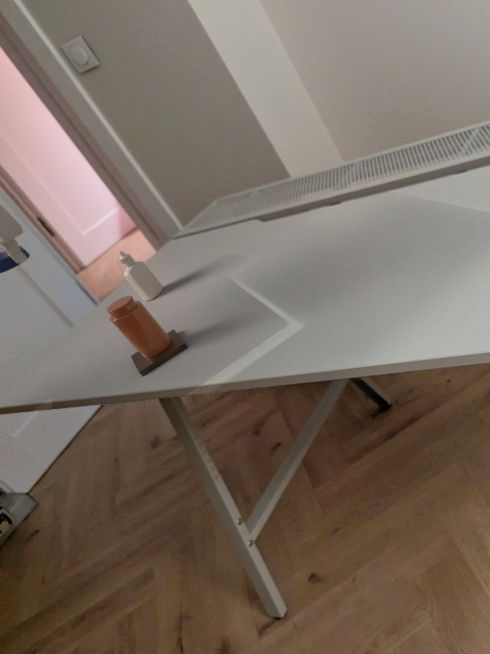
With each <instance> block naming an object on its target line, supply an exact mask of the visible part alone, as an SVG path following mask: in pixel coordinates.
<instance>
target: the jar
mask: <svg viewBox="0 0 490 654" xmlns="http://www.w3.org/2000/svg"><path fill="white" fill-rule="evenodd" d="M106 312H107V314H108V315H110V317H109V321H110V322H111V323H112V324H113V326H114V327H115V328H116V329H117V330H118V331H119V332H120V333H121V334H122V335H123V337H124V338H125V339H126V340H127V341H128V342H129V343H130V344H131V345H132V346H133V348H134V349H135V350H136V352H139V353H140V354H141V355H142V356H143V357H144V358H150V357H153V356H155V355H157V354H159V353H161V352H162V351H164V350H165V349H166V348H167V347H168V346H169V345H170V344H171V342H172V339H171V338H170V336H169V335H168V334H167V333H168V332H167V331H166V330H165V329H164V328H163V326H161V324H160V323H159V322H158V321H157V319H155V317H154V316H153V315H152V314H151V313H150V311H149V310H148V308H146V306H145V305H144V304H143V303H142V302H141V301H140V300H135V299H134V297H133V296H132V295H125V296H123V297H120V298H118V299H116V300H115V301H113V302H112V303H111V304H110V305H109V306H107V307H106Z"/></svg>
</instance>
